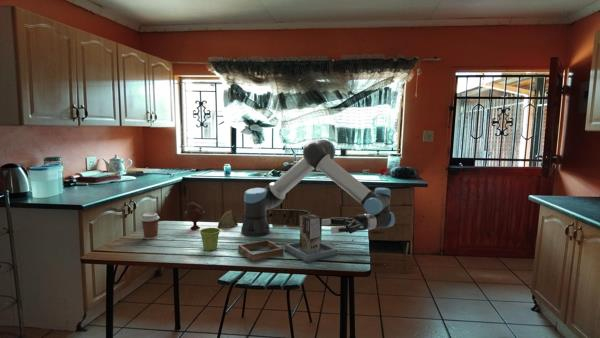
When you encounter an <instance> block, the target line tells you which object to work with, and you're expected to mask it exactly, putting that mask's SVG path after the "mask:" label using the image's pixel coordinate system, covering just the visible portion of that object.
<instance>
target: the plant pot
mask: <svg viewBox="0 0 600 338" xmlns="http://www.w3.org/2000/svg"><path fill="white" fill-rule="evenodd" d="M220 232H221V229H220V228H219V227H207V228H201V229H199V234H200V236H201V241H202V248H203V250H204V251H208V252H209V251H215V250H217V249H218V242H219V235H220Z"/></svg>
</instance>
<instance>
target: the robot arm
mask: <svg viewBox="0 0 600 338" xmlns="http://www.w3.org/2000/svg"><path fill="white" fill-rule="evenodd" d="M302 151H303V152H302V155H303V157H301V159H299V160H298V161H297V162H296V163H295V164H294V165H293V166H292V167H290V168H289V169H288V170H287V171H286V172H284V174H283V175H282V176H280V178H278V179H277V180H276V181H272V182H270V183H269V184H268V185H266V186H265V187H254V188H249V189H247V190H245V191H244V195H243V207H244V208H243V211H244V212H243V215H244V217H243V219H244V220H243V222H242V225H241V228H240V231H241V235H242V236H245V237H253V238H254V237H264V236H267V235H268V234H270V225H269V223H268V220H267V211H268V210H271V209H274V208H277V207H279V205H281V204H282V202H283V201H284V200H285V198H286V196H287V195H286V194H287V193H289V192H290V191H291V189H293V188H294V187H295V186H297V185H298V184H299V183H300V182H301V181H302V180H303V179H304V178H306V177H307V176H308V175H309V174H310V173H311V172H312V171H314V170H315V171H318V172H319V171H320V172H322V173H323V174H324V175H325V176H326V177H328V178H329V179H330V180H331V181H333V183H335V184H336V185H337V186H339V187H340V188H341V189H342V190H344V191H345V192H346V193H347V194H348V195H350V197H352V198H353V199H354V200H355V201H357V202H358V203H359V204H360V205H362V206H363V208H364V211H365V213H361V214H356V215H355V216H354V218H352V217H349V216H347V217H346V216H345V217H342V216H341V217H335V216H333V217H332V216H331V217H330V216H329V217H328V218H323V219H322V226H331V225H340V226H331V227H330V234H332V235H333V234H341V233H342V234H343V233H348V234H353V233H356V232H361V231H371V230H375V229H387V228H390V227H393V226H394V225H395V223H396V217H395V213H393V212H392V211H391V189H390V188H388V187H375V188H374V192H373V191H372V190H370V189H369V188H368V187H367V186H366V185H365V184H364V183H362V182H360V181H359V180H358V179H357V178H355V177H354V176H353V175H352V174H351V173H349V172H348V171H347V170H346V169H345V168H343V167H342V166H341V165H339V164H338V163H337V162H336V161H334V158H335V156H336V147H335V145H334V144H333V143H332V142H331V141H330V140H326V139H321V140H311V141H308V142H307V143H306V144H305V145H304V148H303V150H302Z"/></svg>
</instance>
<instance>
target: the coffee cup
mask: <svg viewBox="0 0 600 338" xmlns="http://www.w3.org/2000/svg"><path fill="white" fill-rule="evenodd" d="M160 219H161V218H160V216H159V215H158V213H156V212H149V213H148V212H147V213H146V212H145V213H143V214H142V216H141V217H140V221H141V223H142V230H143V238H144V239H145V240H154V239H157V238H158V233H159V220H160Z"/></svg>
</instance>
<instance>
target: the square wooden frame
mask: <svg viewBox="0 0 600 338" xmlns="http://www.w3.org/2000/svg"><path fill="white" fill-rule="evenodd" d="M237 246H238V250H237V251H238V253H239V254H241V255H243V256H244V257H246V258H247V259H248V260H250V261H252V262H257V261H263V260H266V259H267V260H268V259H271V258H272V259H273V258H275V257H280V256H281V257H282V256H284V247H282V246H280V245H278V244H276V243H275V242H273V241H271V240H269V239H263V240H258V241H253V242H247V243H242V244H238V245H237ZM261 248H269V249H270V250H266V251H265V250H264V251H260V252H255V253H254V252H252V250H256V249H261Z"/></svg>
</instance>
